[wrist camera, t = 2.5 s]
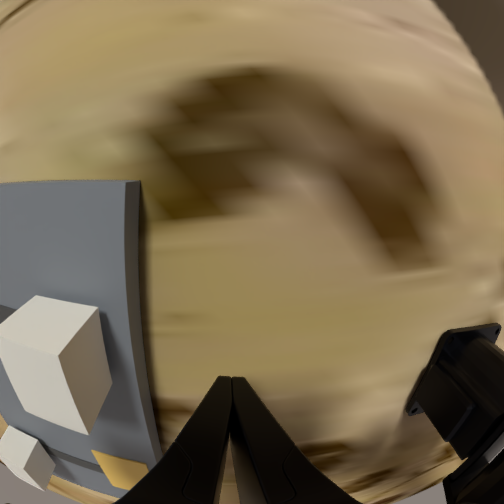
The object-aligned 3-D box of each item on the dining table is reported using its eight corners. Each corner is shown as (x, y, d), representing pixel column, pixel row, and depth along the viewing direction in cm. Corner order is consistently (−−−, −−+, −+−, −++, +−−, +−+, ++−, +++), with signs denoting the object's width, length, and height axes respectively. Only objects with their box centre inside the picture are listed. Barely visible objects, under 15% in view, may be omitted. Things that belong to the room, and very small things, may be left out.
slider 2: (98, 307, 8) (57, 355, 6) (112, 382, 9) (89, 435, 7) (35, 295, 8) (-9, 332, 5) (55, 367, 9) (25, 411, 6)
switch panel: (140, 180, 9) (124, 182, 8) (173, 495, 16) (172, 509, 14) (-46, 188, 8) (-64, 191, 6) (44, 458, 14) (39, 469, 13)
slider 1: (37, 439, 11) (23, 468, 8) (55, 464, 12) (44, 491, 9) (9, 425, 11) (-7, 450, 8) (27, 451, 12) (15, 476, 9)
